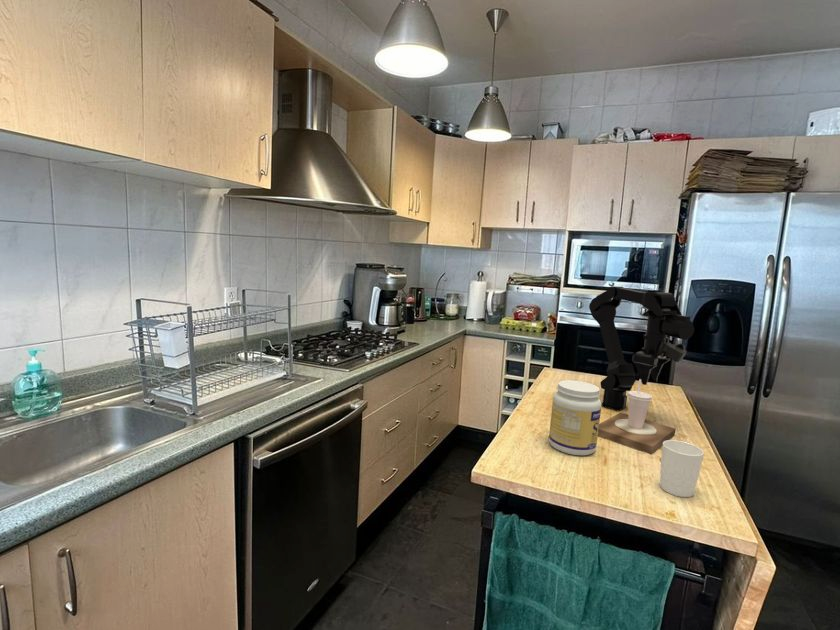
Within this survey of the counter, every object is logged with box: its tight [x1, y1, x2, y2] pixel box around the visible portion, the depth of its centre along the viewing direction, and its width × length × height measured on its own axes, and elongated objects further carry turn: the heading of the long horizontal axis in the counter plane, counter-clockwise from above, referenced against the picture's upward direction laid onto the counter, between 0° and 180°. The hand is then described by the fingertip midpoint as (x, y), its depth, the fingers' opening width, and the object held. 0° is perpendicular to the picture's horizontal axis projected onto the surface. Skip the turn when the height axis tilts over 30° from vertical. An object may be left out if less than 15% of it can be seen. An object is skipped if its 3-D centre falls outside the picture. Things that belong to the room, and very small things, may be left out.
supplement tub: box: [548, 379, 603, 456], centre depth 119 cm, size 12×12×17 cm
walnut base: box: [598, 411, 677, 455], centre depth 131 cm, size 16×20×3 cm
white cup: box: [659, 439, 705, 498], centre depth 101 cm, size 8×8×10 cm
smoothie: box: [627, 378, 653, 429], centre depth 130 cm, size 6×6×14 cm
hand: (649, 382), depth 141 cm, fingers open, 9 cm apart
